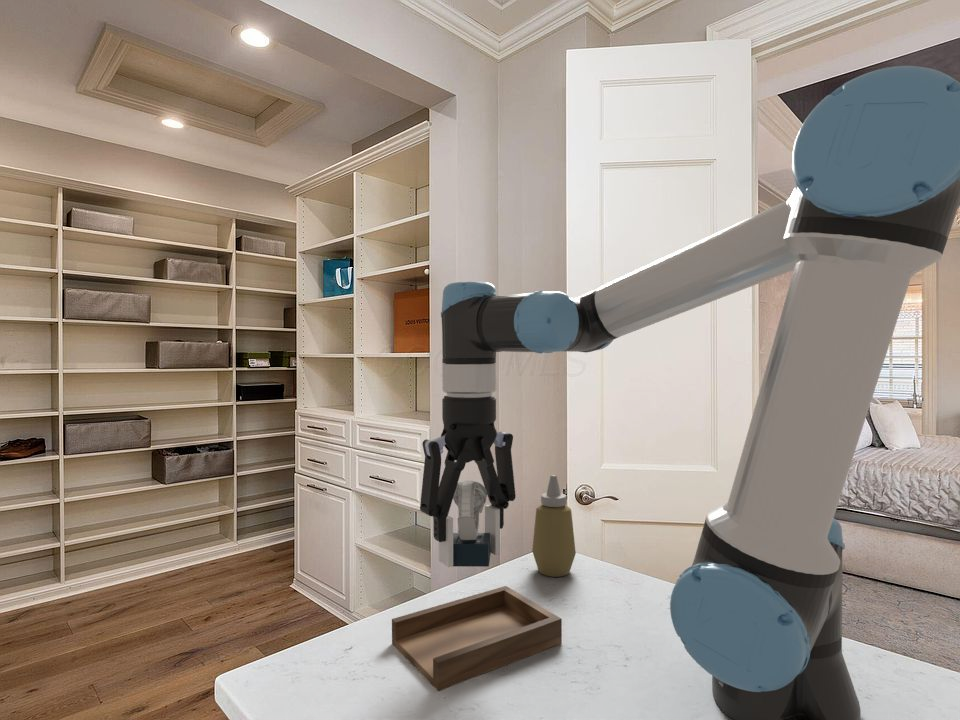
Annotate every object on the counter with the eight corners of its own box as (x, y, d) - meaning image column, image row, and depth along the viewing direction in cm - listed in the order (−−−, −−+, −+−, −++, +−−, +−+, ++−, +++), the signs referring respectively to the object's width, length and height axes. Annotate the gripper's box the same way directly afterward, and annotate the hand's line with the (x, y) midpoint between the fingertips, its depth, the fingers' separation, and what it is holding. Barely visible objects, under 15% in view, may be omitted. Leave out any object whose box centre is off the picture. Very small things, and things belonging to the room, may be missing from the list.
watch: (491, 549, 83) (489, 475, 82) (488, 571, 75) (485, 490, 74) (453, 549, 83) (451, 475, 83) (446, 571, 75) (443, 490, 75)
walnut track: (561, 643, 80) (561, 618, 80) (437, 691, 69) (437, 662, 69) (506, 607, 91) (505, 585, 91) (391, 643, 80) (391, 619, 80)
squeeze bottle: (582, 568, 107) (582, 474, 106) (565, 583, 100) (564, 482, 99) (543, 560, 111) (543, 469, 111) (524, 574, 104) (524, 477, 104)
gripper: (510, 389, 87) (510, 536, 88) (392, 396, 76) (393, 564, 77) (541, 392, 81) (541, 551, 81) (417, 400, 70) (418, 583, 70)
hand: (469, 557), depth 79 cm, fingers closed on watch, 7 cm apart
